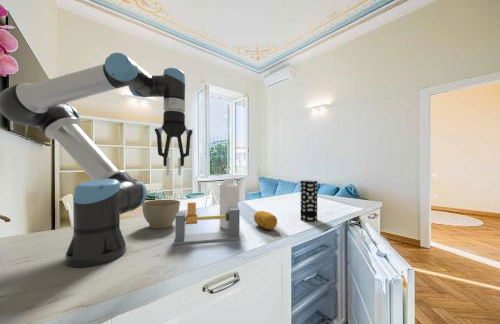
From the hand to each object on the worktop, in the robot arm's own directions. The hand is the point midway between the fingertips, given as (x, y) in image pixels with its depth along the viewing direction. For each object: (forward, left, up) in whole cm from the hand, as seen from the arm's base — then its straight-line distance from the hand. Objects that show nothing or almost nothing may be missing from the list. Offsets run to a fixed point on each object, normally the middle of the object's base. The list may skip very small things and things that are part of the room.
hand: (173, 174), depth 79 cm
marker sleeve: (+7, 0, -18) cm, 19 cm away
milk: (+23, +13, -25) cm, 36 cm away
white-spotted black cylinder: (+65, +16, -25) cm, 71 cm away
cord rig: (+13, 0, -25) cm, 28 cm away
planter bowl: (-7, +21, -25) cm, 33 cm away
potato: (+39, +8, -25) cm, 47 cm away
